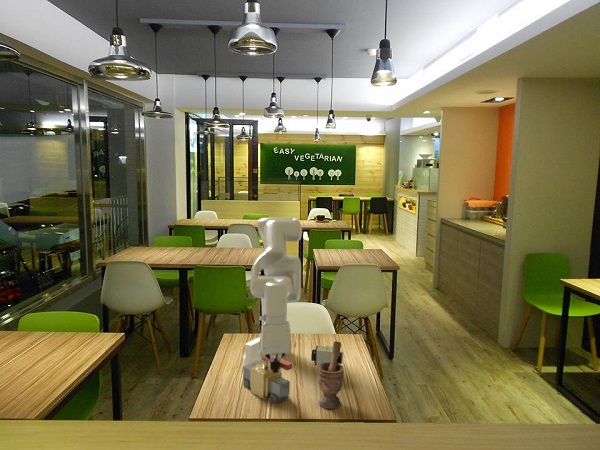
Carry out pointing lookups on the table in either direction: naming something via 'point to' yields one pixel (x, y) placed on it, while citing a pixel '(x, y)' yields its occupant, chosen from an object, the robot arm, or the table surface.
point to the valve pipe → (266, 382)
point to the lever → (283, 363)
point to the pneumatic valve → (324, 355)
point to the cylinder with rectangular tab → (252, 353)
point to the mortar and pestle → (331, 379)
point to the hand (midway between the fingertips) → (274, 371)
